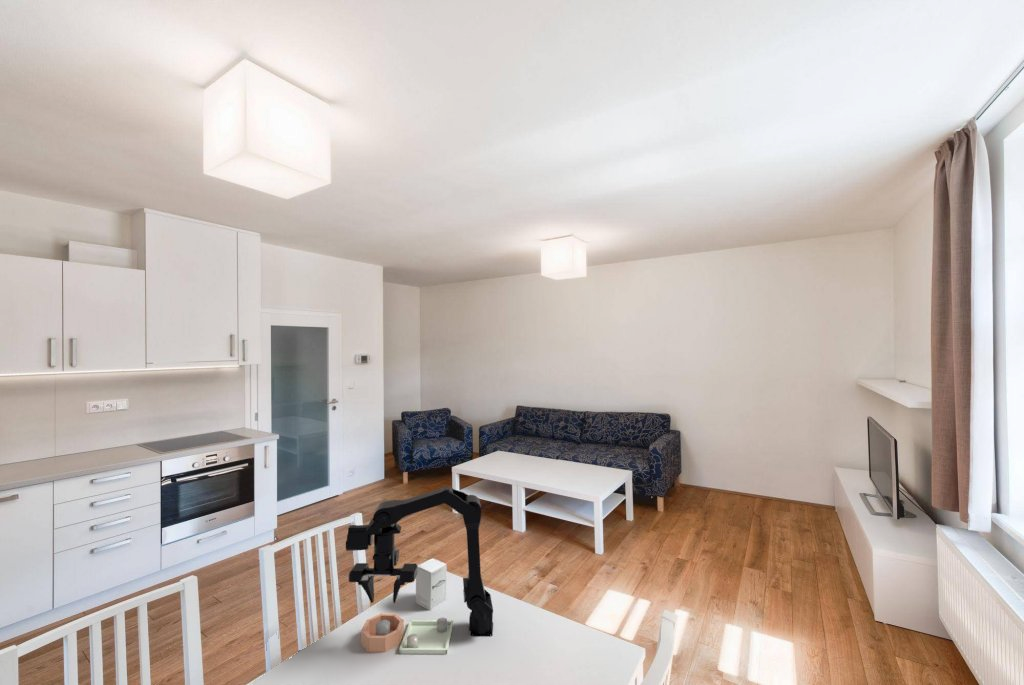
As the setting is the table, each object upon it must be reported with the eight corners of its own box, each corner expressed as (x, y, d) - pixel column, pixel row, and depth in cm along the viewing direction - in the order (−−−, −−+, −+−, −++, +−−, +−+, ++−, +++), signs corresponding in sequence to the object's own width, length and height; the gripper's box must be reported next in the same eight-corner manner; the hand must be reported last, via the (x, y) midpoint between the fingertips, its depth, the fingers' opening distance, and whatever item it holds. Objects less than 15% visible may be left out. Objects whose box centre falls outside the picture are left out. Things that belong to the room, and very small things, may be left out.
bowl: (406, 628, 129) (406, 613, 129) (396, 653, 118) (396, 638, 118) (370, 627, 129) (370, 613, 129) (356, 653, 118) (357, 637, 118)
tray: (453, 625, 130) (453, 620, 130) (447, 655, 118) (447, 649, 118) (410, 625, 130) (410, 620, 130) (399, 655, 118) (399, 649, 118)
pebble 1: (418, 643, 121) (419, 634, 121) (416, 651, 118) (416, 641, 118) (408, 643, 121) (408, 633, 121) (405, 651, 118) (405, 641, 118)
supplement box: (430, 612, 137) (430, 572, 137) (415, 604, 141) (415, 565, 142) (446, 601, 143) (447, 563, 143) (431, 594, 147) (432, 557, 148)
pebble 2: (447, 626, 129) (447, 617, 129) (446, 632, 126) (446, 623, 126) (437, 626, 129) (437, 617, 129) (436, 632, 126) (436, 623, 126)
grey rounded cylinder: (391, 633, 126) (391, 619, 126) (387, 643, 122) (387, 628, 122) (378, 633, 126) (378, 619, 126) (373, 642, 122) (373, 628, 122)
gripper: (422, 536, 132) (421, 587, 132) (362, 535, 132) (361, 586, 132) (413, 553, 121) (413, 608, 121) (348, 552, 121) (347, 608, 121)
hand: (383, 602), depth 124 cm, fingers open, 6 cm apart
